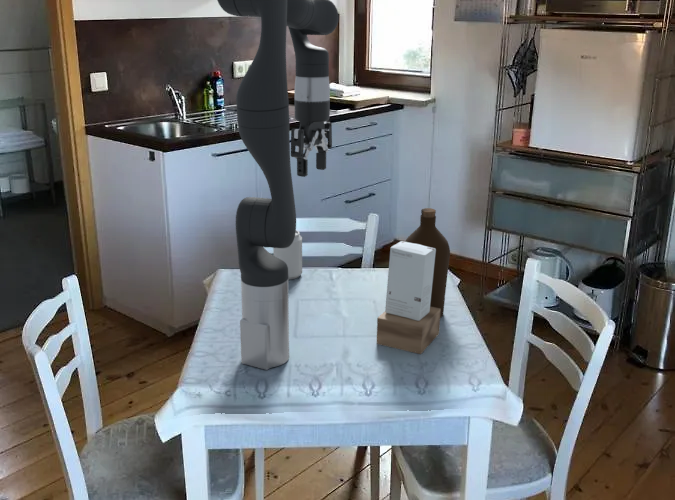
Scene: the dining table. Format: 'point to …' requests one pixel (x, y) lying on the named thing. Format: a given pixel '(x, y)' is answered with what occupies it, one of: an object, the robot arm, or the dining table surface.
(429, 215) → the olive oil
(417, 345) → the walnut block
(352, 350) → the dining table surface
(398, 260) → the skincare box
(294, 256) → the can
